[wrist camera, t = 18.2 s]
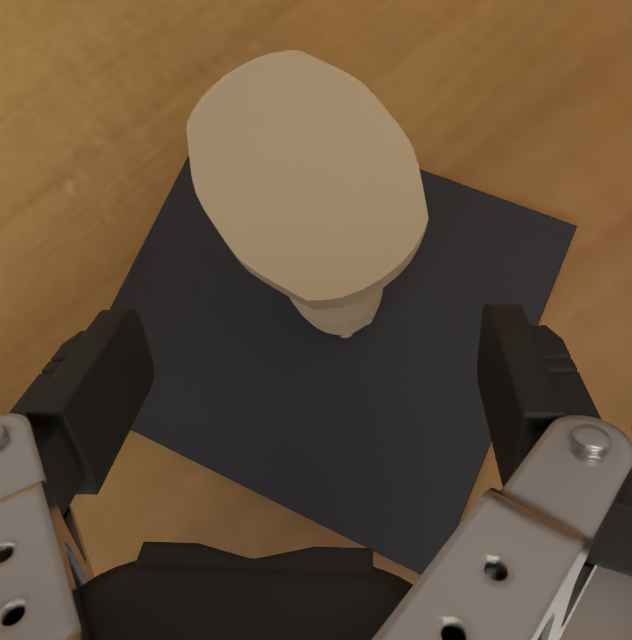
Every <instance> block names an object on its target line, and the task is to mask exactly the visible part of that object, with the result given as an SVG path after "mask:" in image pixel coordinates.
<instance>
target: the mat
mask: <svg viewBox="0 0 632 640" xmlns="http://www.w3.org/2000/svg"><path fill="white" fill-rule="evenodd" d="M419 170H420V169H419ZM420 175H421V180H422V184H423V190H424V195H425V201H426V206H427V212H428V217H429V219H428V223H427V227H426V231H425V233H424V236H423V238H422V241H421V243H420V246H419V248H418V249H417V251H416V253H415V255H414V256H413V258H412V260H411V262H410V263H409V264H408V265H407V266H406V267H405V269H404V270H403V271H402V272H401V273H400V274H399V275H398V276H397V277H396V278H395V279H393V280H392V281H391V282H390V283H388V284H387V285H386V286H385V287H383V293H382V297H381V301H380V304H379V307H378V309H377V311H376V313H375V316H374V318H373V320H372V322H371V323H370V324H369V325H365V326H364V327H363V328H361V329H359V330H358V331H356V332H354V333H353V334H352V336H351V337H348V338H341V337H340V336H339V335H335V334H330V333H326V332H324V331H322V330H320V329H318V328H316V327H315V326H313V325H312V324H311V323H310V322H309V321H308V320H307V319H306V318H304V317H303V316H302V314H301V313H300V312H299V311H298V309H297V308H296V307H295V305H294V304H293V303H292V301H291V299H290V298H289V296H287V295H285V294H283V293H282V292H280V291H278V290H277V289H275V288H273V287H272V286H270V285H268V284H267V283H265V282H263V281H262V280H261V279H259V278H258V277H256V276H255V275H253V274H252V273H250V272H249V271H248V270H247V269H246V268H245V267H244V266H243V265H242V264H241V262H240V261H239V260H238V259H237V257H236V256H235V255H234V253H233V252H232V250H231V249H230V248H229V246H228V245H227V244H226V242H225V241H224V239H223V238H222V236H221V235H220V233H219V232H218V230H217V229H216V227H215V225H214V224H213V222H212V221H211V219H210V218H209V216H208V215H207V213H206V212H205V210H204V208H203V206H202V204H201V203H200V201H199V199H198V197H197V195H196V192H195V188H194V184H193V180H192V176H191V167H190V159H189V156H188V158H187V160H186V162H185V164H184V166H183V168H182V170H181V172H180V174H179V175H178V177H177V179H176V181H175V183H174V185H173V187H172V189H171V191H170V193H169V195H168V197H167V199H166V201H165V203H164V205H163V207H162V209H161V211H160V213H159V215H158V216H157V218H156V220H155V222H154V224H153V226H152V228H151V230H150V232H149V234H148V236H147V238H146V240H145V242H144V244H143V246H142V248H141V250H140V252H139V254H138V256H137V257H136V259H135V261H134V263H133V265H132V267H131V269H130V271H129V273H128V275H127V277H126V279H125V281H124V283H123V285H122V287H121V289H120V291H119V293H118V295H117V297H116V299H115V300H114V302H113V304H112V306H111V308H110V310H135V311H136V312H137V313H138V314H139V316H140V319H141V322H142V326H143V329H144V332H145V336H146V339H147V342H148V346H149V349H150V352H151V356H152V359H153V363H154V379H153V384H152V387H151V389H150V391H149V393H148V395H147V397H146V399H145V401H144V403H143V405H142V407H141V409H140V411H139V413H138V415H137V417H136V419H135V421H134V423H133V425H132V427H131V430H133V431H135V432H137V433H139V434H141V435H143V436H145V437H147V438H149V439H151V440H153V441H155V442H157V443H159V444H161V445H163V446H165V447H167V448H169V449H171V450H173V451H175V452H177V453H179V454H181V455H183V456H185V457H187V458H189V459H191V460H193V461H195V462H197V463H199V464H201V465H203V466H205V467H207V468H209V469H211V470H213V471H215V472H217V473H219V474H221V475H223V476H225V477H227V478H229V479H231V480H233V481H235V482H237V483H239V484H241V485H243V486H245V487H247V488H249V489H251V490H253V491H255V492H257V493H259V494H261V495H263V496H265V497H267V498H269V499H271V500H273V501H275V502H277V503H279V504H281V505H283V506H285V507H287V508H289V509H291V510H293V511H295V512H297V513H299V514H301V515H303V516H305V517H307V518H309V519H311V520H313V521H315V522H317V523H319V524H321V525H323V526H325V527H327V528H329V529H331V530H333V531H335V532H337V533H339V534H341V535H343V536H345V537H347V538H349V539H351V540H353V541H355V542H357V543H359V544H361V545H363V546H365V547H367V548H373V551H375V552H377V553H379V554H381V555H383V556H385V557H387V558H389V559H391V560H393V561H395V562H397V563H399V564H401V565H403V566H405V567H407V568H409V569H411V570H413V571H415V572H417V573H419V574H421V575H422V573H423V572H424V571H425V569H426V568H427V567H428V566H429V564H430V563H431V562H432V560H433V559H434V558H435V556H436V555H437V554H438V553H439V551H440V550H441V549H442V547H443V546H444V545H445V543H446V542H447V541H448V540H449V538H450V537H451V536H452V534H453V533H454V532H455V530H456V529H457V526H458V524H459V521H460V519H461V516H462V514H463V511H464V509H465V506H466V504H467V501H468V499H469V496H470V494H471V491H472V489H473V486H474V484H475V481H476V478H477V476H478V473H479V471H480V468H481V466H482V463H483V461H484V458H485V456H486V453H487V451H488V448H489V446H490V443H491V441H492V440H491V436H490V432H489V428H488V424H487V420H486V415H485V411H484V407H483V403H482V399H481V395H480V391H479V386H478V379H477V357H478V348H479V338H480V329H481V320H482V311H483V307H484V305H485V304H511V303H519V304H521V306H522V308H523V310H524V313H525V315H526V317H527V320H528V322H529V325H530V326H537V325H538V323H539V320H540V318H541V315H542V313H543V310H544V308H545V305H546V303H547V300H548V298H549V295H550V293H551V290H552V288H553V285H554V283H555V280H556V278H557V275H558V273H559V270H560V268H561V265H562V263H563V260H564V258H565V255H566V252H567V250H568V247H569V245H570V242H571V240H572V237H573V235H574V232H575V230H576V227H577V226H575V225H573V224H570V223H567V222H564V221H562V220H559V219H556V218H553V217H550V216H548V215H545V214H542V213H539V212H537V211H534V210H531V209H528V208H526V207H523V206H520V205H517V204H514V203H512V202H509V201H506V200H503V199H501V198H498V197H495V196H492V195H490V194H487V193H484V192H481V191H478V190H476V189H473V188H470V187H467V186H465V185H462V184H459V183H456V182H454V181H451V180H448V179H445V178H442V177H440V176H437V175H434V174H431V173H429V172H426V171H423V170H420Z"/></svg>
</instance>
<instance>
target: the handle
mask: <svg viewBox="0 0 632 640" xmlns="http://www.w3.org/2000/svg"><path fill="white" fill-rule="evenodd" d="M186 127H187V138H188V150H189V159H190V167H191V176H192V180H193V184H194V188H195V192H196V195H197V197H198V199H199V201H200V203H201V204H202V206H203V208H204V210H205V212H206V213H207V215H208V216H209V218H210V219H211V221H212V222H213V224H214V225H215V227H216V229H217V230H218V232H219V233H220V235H221V236H222V238H223V239H224V241H225V242H226V244H227V245H228V246H229V248H230V249H231V250H232V252H233V253H234V255H235V256H236V257H237V259H238V260H239V261H240V262H241V264H242V265H243V266H244V267H245V268H246V269H247V270H248V271H249V272H250V273H252V274H253V275H255V276H256V277H258V278H259V279H261V280H262V281H263V282H265V283H267V284H268V285H270V286H272V287H273V288H275V289H277V290H278V291H280V292H282V293H283V294H285V295H287V296H289V298H290V299H291V301H292V303H293V304H294V305H295V307H296V308H297V309H298V311H299V312H300V313H301V314H302V316H303V317H304V318H306V319H307V320H308V321H309V322H310V323H311V324H312V325H313V326H315V327H316V328H318V329H320V330H322V331H324V332H326V333H330V334H335V335H339V336H340V337H341V338H348V337H351V336H352V334H353V333H354V332H356V331H358V330H359V329H361V328H363V327H364V326H365V325H369V324H370V323H371V322H372V320H373V318H374V316H375V313H376V311H377V309H378V307H379V304H380V301H381V297H382V293H383V287H385V286H386V285H387V284H388V283H390V282H391V281H392V280H393V279H395V278H396V277H397V276H398V275H399V274H400V273H401V272H402V271H403V270H404V269H405V267H406V266H407V265H408V264H409V263H410V262H411V260H412V258H413V256H414V255H415V253H416V251H417V249H418V248H419V246H420V243H421V241H422V238H423V236H424V233H425V231H426V227H427V223H428V219H429V217H428V212H427V206H426V201H425V195H424V190H423V184H422V180H421V175H420V170H419V166H418V162H417V159H416V156H415V153H414V150H413V147H412V144H411V143H410V141H409V140H408V138H407V136H406V135H405V133H404V132H403V130H402V128H401V127H400V126H399V124H398V123H397V122H396V121H395V119H394V118H393V117H392V116H391V114H390V113H389V112H388V111H387V109H386V108H385V107H384V106H383V104H382V103H381V102H380V101H379V99H378V98H377V97H376V96H375V95H374V94H373V93H372V92H371V91H370V90H369V89H368V88H367V87H366V86H365V85H364V84H363V83H362V82H361V81H359V80H358V79H356V78H354V77H353V76H351V75H350V74H348V73H347V72H345V71H343V70H341V69H338V68H336V67H334V66H332V65H330V64H328V63H326V62H324V61H322V60H319V59H317V58H315V57H313V56H310V55H308V54H306V53H304V52H301V51H299V50H289V51H279V52H274V53H269V54H265V55H263V56H260V57H258V58H255V59H253V60H250V61H248V62H246V63H244V64H243V65H241V66H239V67H237V68H236V69H234V70H232V71H230V72H229V73H228V74H227V75H225V76H224V77H223V78H221V79H220V80H219V81H218V82H216V83H215V84H214V85H213V86H212V87H211V88H210V89H209V90H208V91H207V92H206V93H205V94H204V95H203V96H202V97H201V99H200V100H199V102H198V103H197V105H196V106H195V108H194V110H193V111H192V113H191V115H190V118H189V120H188V122H187V124H186Z"/></svg>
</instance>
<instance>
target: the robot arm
mask: <svg viewBox="0 0 632 640" xmlns="http://www.w3.org/2000/svg"><path fill="white" fill-rule="evenodd" d="M153 379H154V363H153V359H152V356H151V352H150V349H149V346H148V342H147V339H146V336H145V332H144V329H143V326H142V322H141V319H140V316H139V314H138V313H137V312H136V311H135V310H102V311H101V312H100V313H99V314H98V315H97V316H96V318H95V319H94V320H93V322H92V323H91V324H90V326H89V327H88V328H87V330H86V331H80V332H79V333H78V334H76V335H75V336H73V337H72V338H70V339H69V340H68V341H66V342H65V343H63V344H62V346H61V347H60V348H59V349H58V351H57V352H56V353H55V355H54V356H53V357H52V358H51V362H48V364H47V365H46V366H45V367H44V369H43V370H42V374H39V375H38V376H37V378H36V379H35V380H34V382H33V383H32V384H31V385H30V387H29V388H28V389H27V390H26V392H25V393H24V394H23V396H22V397H21V398H20V399H19V401H18V402H17V403H16V405H15V406H14V407H13V408H12V410H11V411H10V412H9V413H7V414H0V640H559V639H560V637H561V635H562V633H563V631H564V629H565V627H566V625H567V624H568V622H569V620H570V618H571V616H572V614H573V612H574V610H575V608H576V606H577V604H578V602H579V600H580V598H581V596H582V594H583V592H584V591H585V588H586V587H587V585H588V583H589V581H590V579H591V577H592V575H593V573H594V571H595V569H596V567H597V566H600V567H603V568H606V569H610V570H613V571H616V572H619V573H622V574H625V575H629V576H632V442H631V440H630V439H629V438H628V437H627V436H626V435H625V433H624V432H622V431H621V430H620V429H618V428H617V427H615V426H614V425H612V424H610V423H608V422H606V421H604V420H601V418H600V415H599V413H598V411H597V409H596V407H595V405H594V403H593V401H592V399H591V397H590V395H589V393H588V391H587V389H586V387H585V385H584V383H583V381H582V378H581V376H580V374H579V372H577V368H576V366H575V364H574V362H573V360H572V359H570V354H569V352H568V350H567V348H566V346H565V344H564V341H563V339H561V338H560V337H559V336H558V335H557V334H555V333H554V332H553V331H552V330H551V329H549V328H548V327H547V326H546V325H540V326H530V325H529V322H528V320H527V317H526V315H525V313H524V310H523V308H522V306H521V304H519V303H511V304H485V305H484V307H483V311H482V320H481V329H480V338H479V348H478V357H477V379H478V386H479V391H480V395H481V399H482V403H483V407H484V411H485V415H486V420H487V424H488V428H489V432H490V436H491V440H492V444H493V448H494V452H495V457H496V461H497V465H498V469H499V473H500V477H501V481H502V485H503V489H502V490H501V491H498V490H496V489H494V488H490V489H489V490H487V491H486V492H485V493H484V494H483V495H482V497H481V498H480V499H479V500H478V502H477V503H476V504H475V506H474V507H473V508H472V510H471V511H470V512H469V513H468V515H467V516H466V517H465V519H464V520H463V521H462V523H461V524H460V525H459V526H458V528H457V529H456V530H455V532H454V533H453V534H452V536H451V537H450V538H449V540H448V541H447V542H446V543H445V545H444V546H443V547H442V549H441V550H440V551H439V553H438V554H437V555H436V556H435V558H434V559H433V560H432V562H431V563H430V564H429V566H428V567H427V568H426V569H425V571H424V572H423V573H422V575H421V576H420V577H419V579H418V580H417V581H416V583H415V584H414V585H413V584H411V583H409V582H408V581H406V580H404V579H402V578H401V577H399V576H396V575H394V574H392V573H389V572H387V571H385V570H381V569H378V568H375V567H373V548H339V547H311V548H306V549H301V550H296V551H292V552H287V553H282V554H277V555H272V556H267V557H263V558H257V559H250V558H246V557H243V556H239V555H236V554H232V553H229V552H226V551H222V550H219V549H216V548H212V547H209V546H205V545H202V544H199V543H170V542H144V543H143V545H142V548H141V550H140V553H139V556H138V558H137V561H133V562H130V563H127V564H124V565H120V566H118V567H115V568H113V569H111V570H108V571H106V572H104V573H102V574H100V575H98V576H97V577H94V574H93V571H92V568H91V565H90V562H89V558H88V555H87V552H86V549H85V546H84V543H83V540H82V537H81V533H80V530H79V527H78V524H77V521H76V518H75V515H74V512H73V510H72V508H71V506H70V503H71V502H72V500H73V498H74V496H75V494H98V493H99V491H100V489H101V487H102V485H103V483H104V481H105V479H106V477H107V475H108V473H109V471H110V469H111V467H112V465H113V463H114V461H115V459H116V457H117V455H118V453H119V451H120V449H121V447H122V445H123V443H124V441H125V439H126V437H127V435H128V433H129V431H130V429H131V427H132V425H133V423H134V421H135V419H136V417H137V415H138V413H139V411H140V409H141V407H142V405H143V403H144V401H145V399H146V397H147V395H148V393H149V391H150V389H151V387H152V384H153Z"/></svg>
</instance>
